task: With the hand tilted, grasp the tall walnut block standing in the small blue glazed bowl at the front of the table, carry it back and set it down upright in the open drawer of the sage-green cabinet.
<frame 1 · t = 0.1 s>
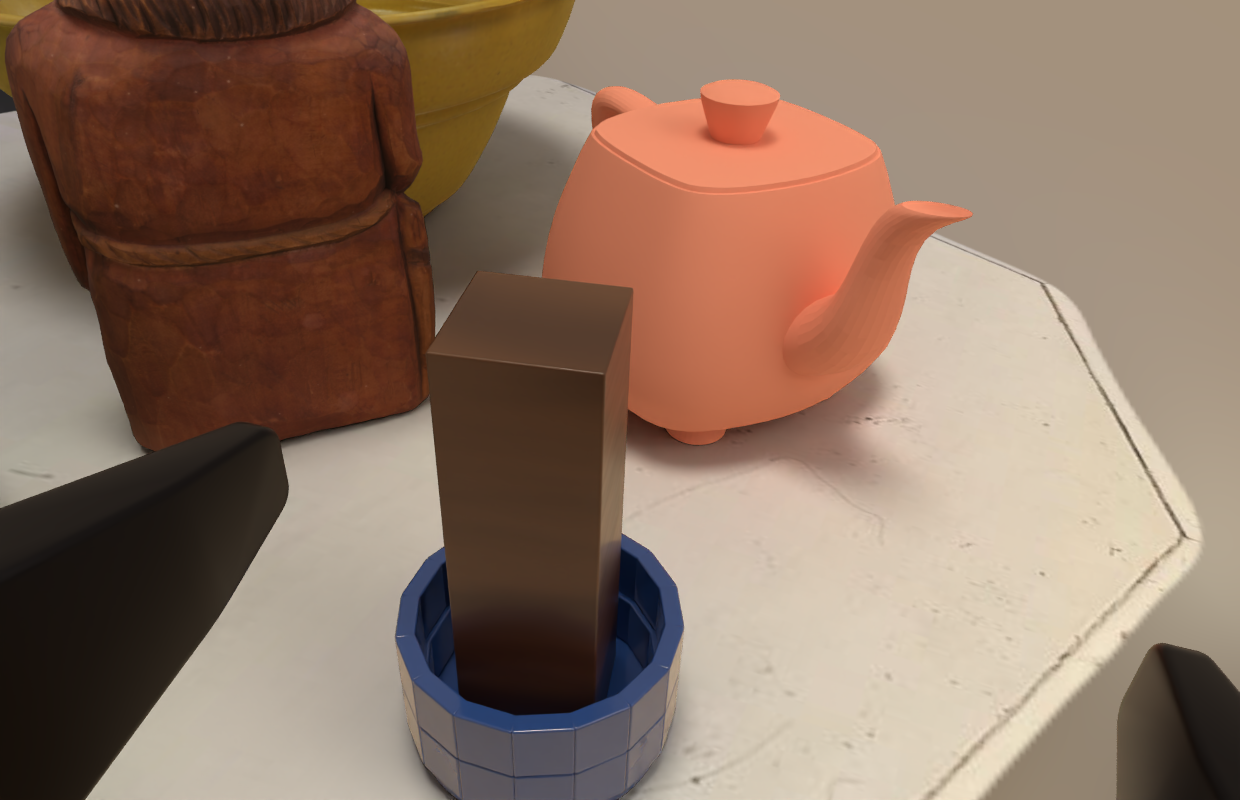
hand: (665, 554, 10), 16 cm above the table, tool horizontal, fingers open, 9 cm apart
teapot: (720, 383, 40), on the table
blue bowl: (542, 709, 26), on the table
wooden figurine: (285, 409, 38), on the table
planter bowl: (317, 202, 54), on the table
walnut block: (542, 695, 26), point 1 cm above the table, touching blue bowl
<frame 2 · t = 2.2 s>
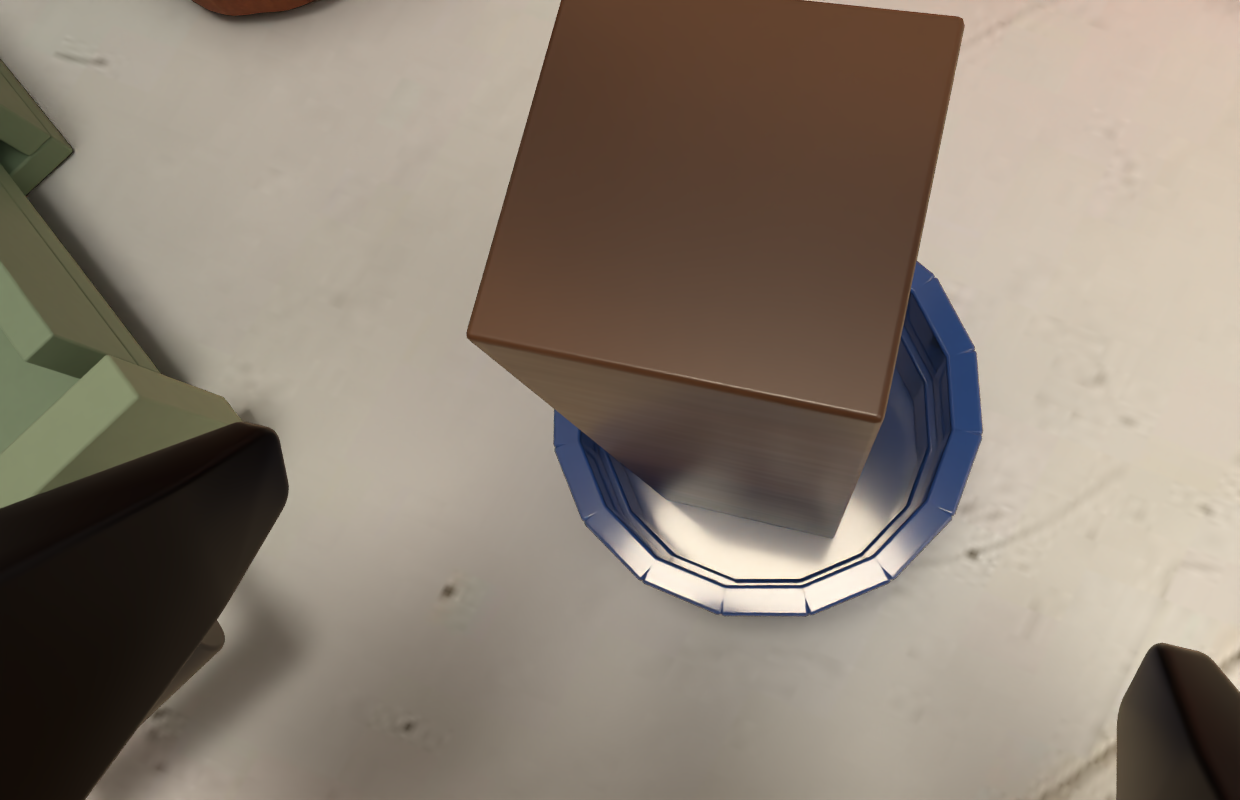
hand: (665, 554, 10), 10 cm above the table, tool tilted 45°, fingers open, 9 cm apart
blue bowl: (766, 440, 20), on the table
walnut block: (765, 435, 19), point 1 cm above the table, touching blue bowl
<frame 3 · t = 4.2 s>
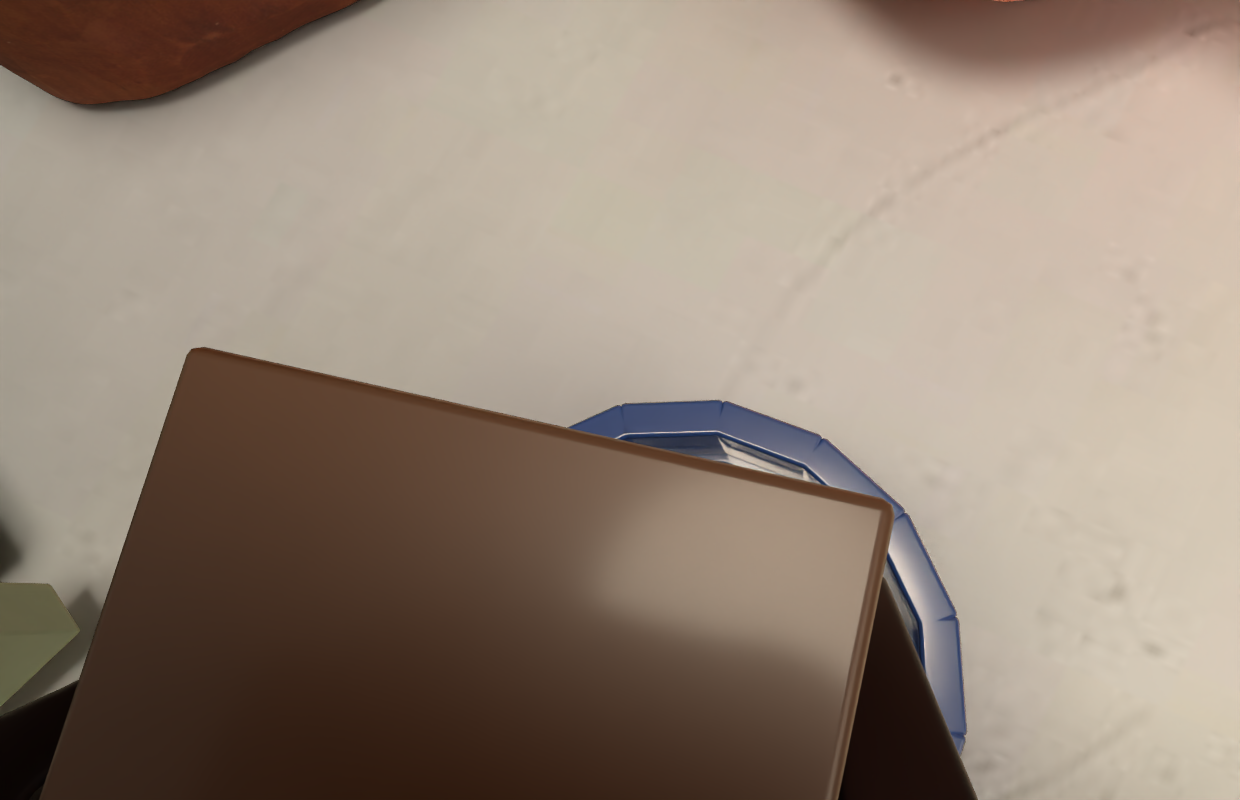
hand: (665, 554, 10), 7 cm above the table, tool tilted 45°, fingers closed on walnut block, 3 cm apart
blue bowl: (704, 655, 16), on the table
walnut block: (700, 657, 16), point 1 cm above the table, touching blue bowl, gripper
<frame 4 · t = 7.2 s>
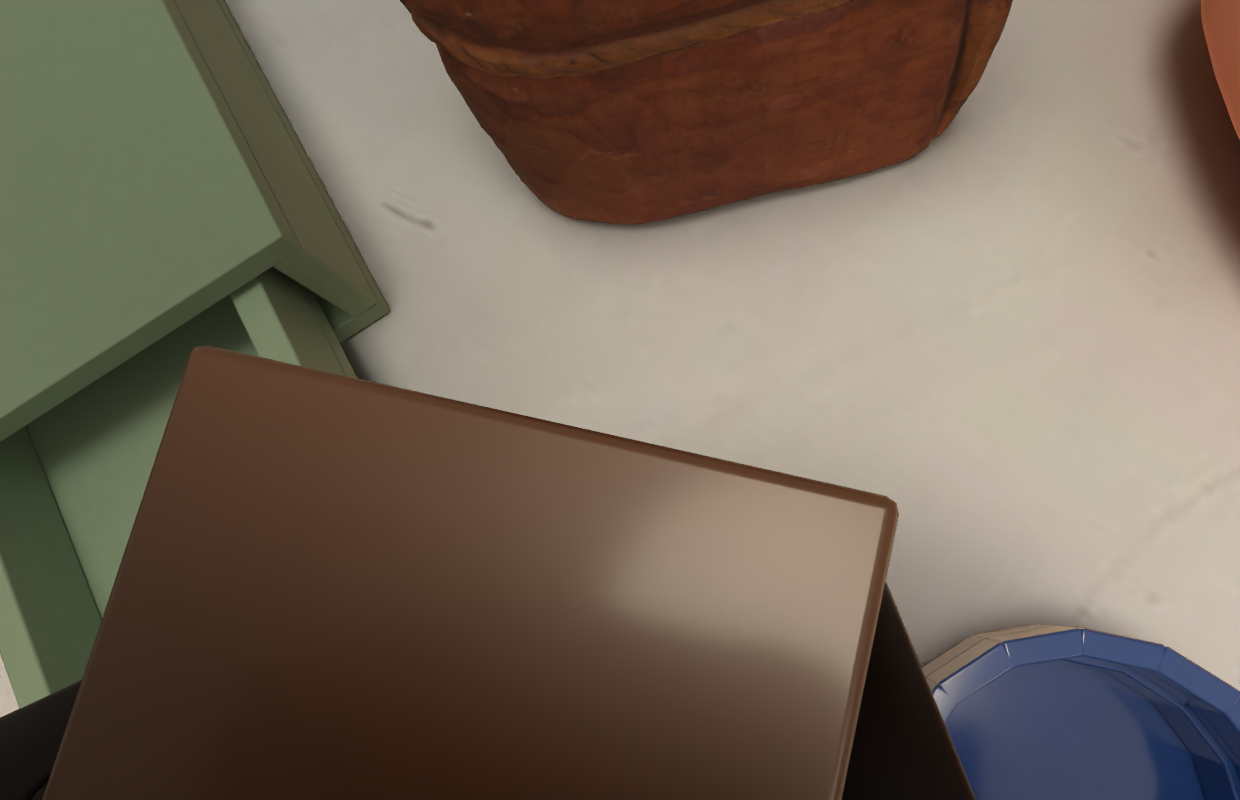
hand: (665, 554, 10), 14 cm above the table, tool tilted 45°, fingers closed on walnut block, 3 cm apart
cabinet: (99, 167, 29), on the table
blue bowl: (1043, 797, 20), on the table
wooden figurine: (720, 119, 25), on the table
drawer: (202, 526, 22), point 3 cm above the table, slide at 9.0 cm
walnut block: (701, 657, 16), point 7 cm above the table, touching gripper
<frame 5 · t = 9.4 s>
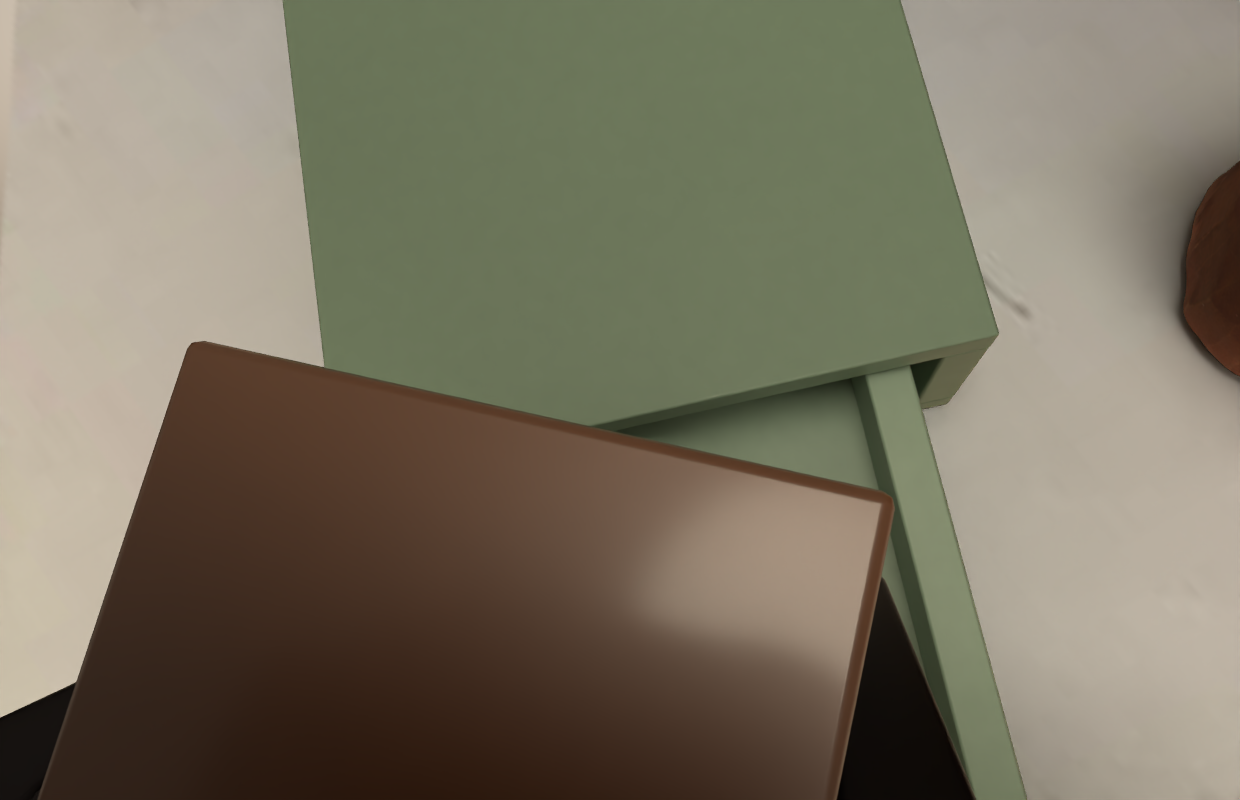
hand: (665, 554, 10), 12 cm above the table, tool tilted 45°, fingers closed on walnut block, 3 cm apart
cabinet: (615, 99, 24), on the table
drawer: (710, 620, 18), point 3 cm above the table, slide at 9.0 cm
walnut block: (700, 655, 16), point 5 cm above the table, touching gripper
when the fingers open (8 cm above the table, at t = 10.6 s): walnut block stays where it is, resting on drawer.
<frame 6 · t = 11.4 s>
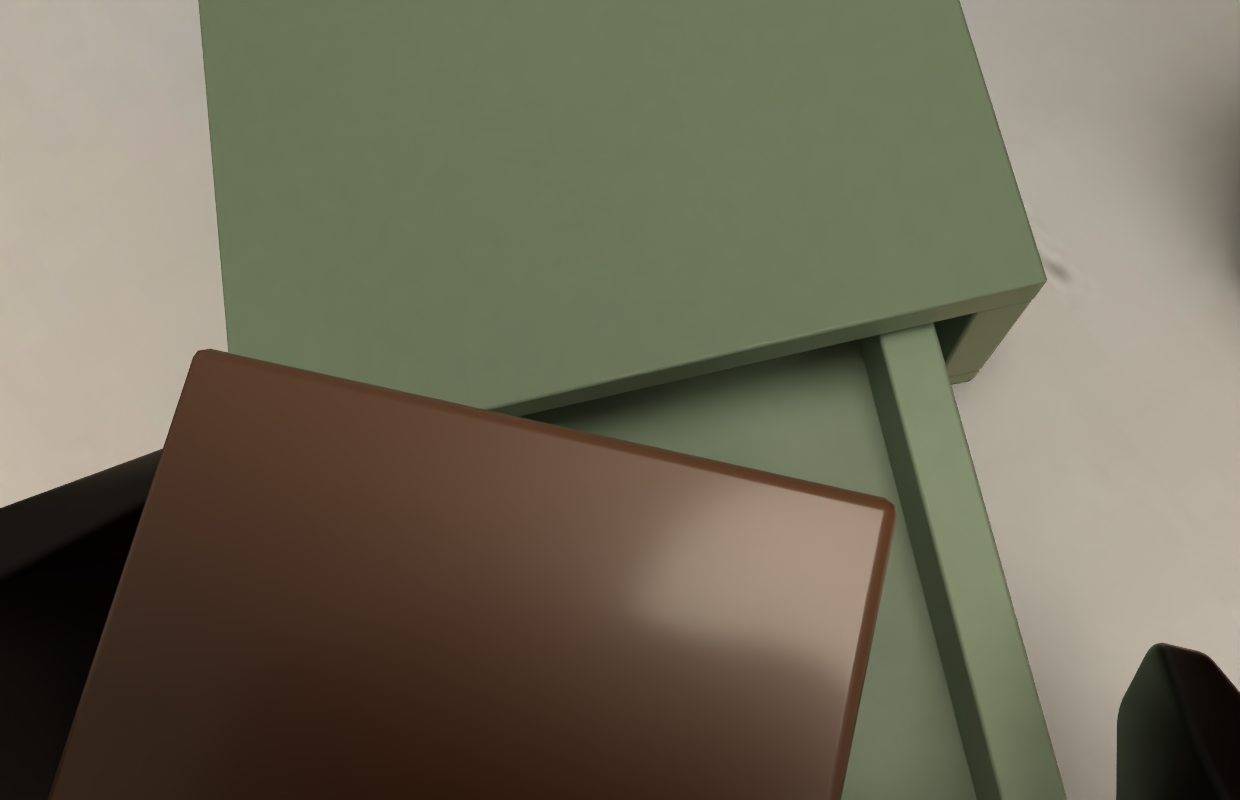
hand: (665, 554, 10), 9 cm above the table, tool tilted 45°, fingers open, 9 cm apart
cabinet: (589, 36, 21), on the table
drawer: (690, 628, 15), point 3 cm above the table, slide at 8.9 cm, touching walnut block
walnut block: (700, 657, 16), point 2 cm above the table, touching drawer
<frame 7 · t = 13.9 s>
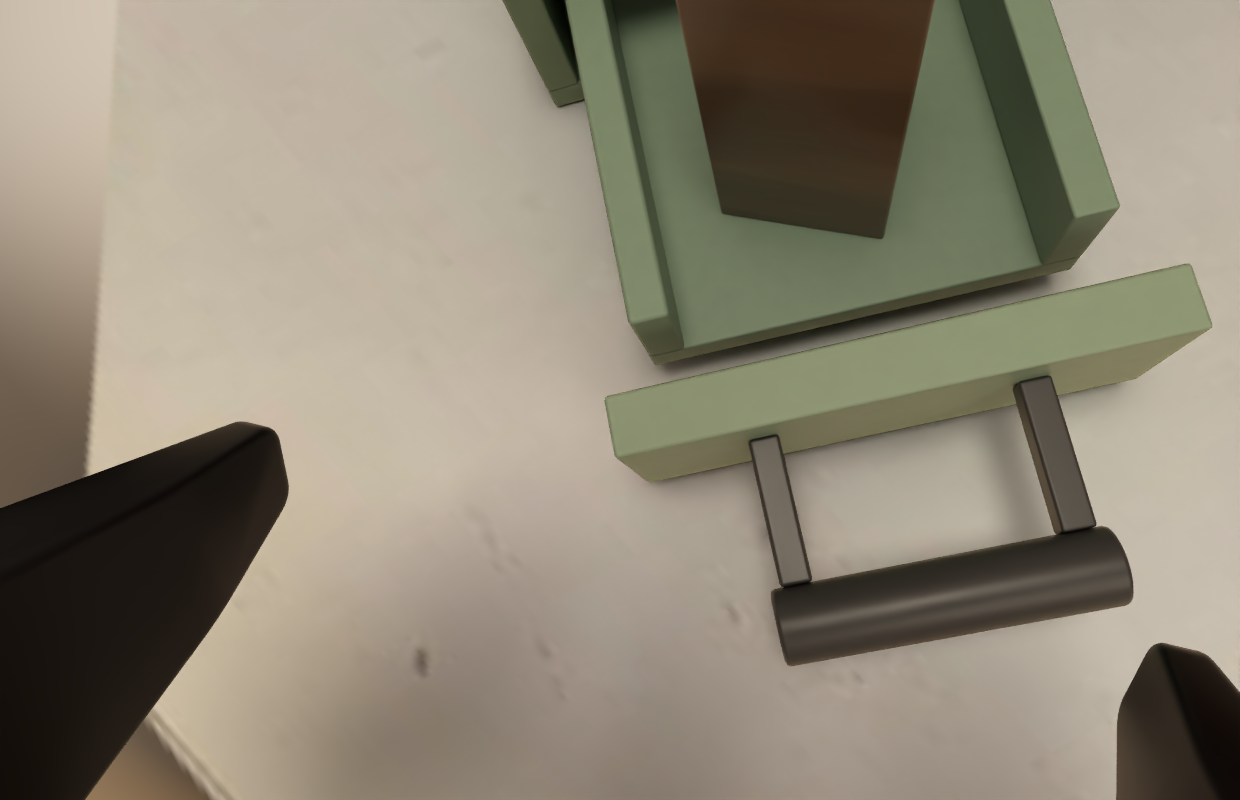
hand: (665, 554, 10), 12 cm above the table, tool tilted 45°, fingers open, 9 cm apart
drawer: (812, 113, 20), point 3 cm above the table, slide at 8.9 cm, touching walnut block
walnut block: (817, 152, 21), point 2 cm above the table, touching drawer
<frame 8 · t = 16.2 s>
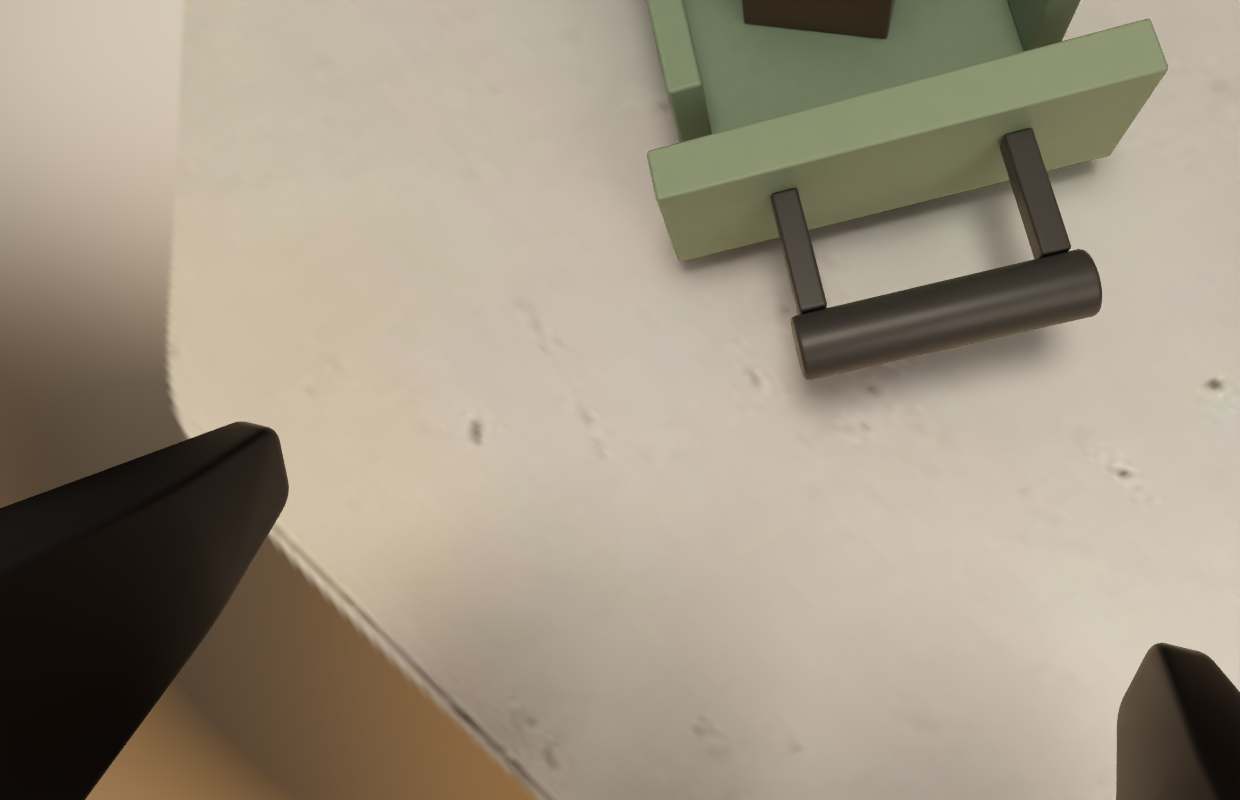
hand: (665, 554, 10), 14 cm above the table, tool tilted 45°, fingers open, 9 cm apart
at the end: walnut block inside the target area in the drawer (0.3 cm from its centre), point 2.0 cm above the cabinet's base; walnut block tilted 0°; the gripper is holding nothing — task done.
